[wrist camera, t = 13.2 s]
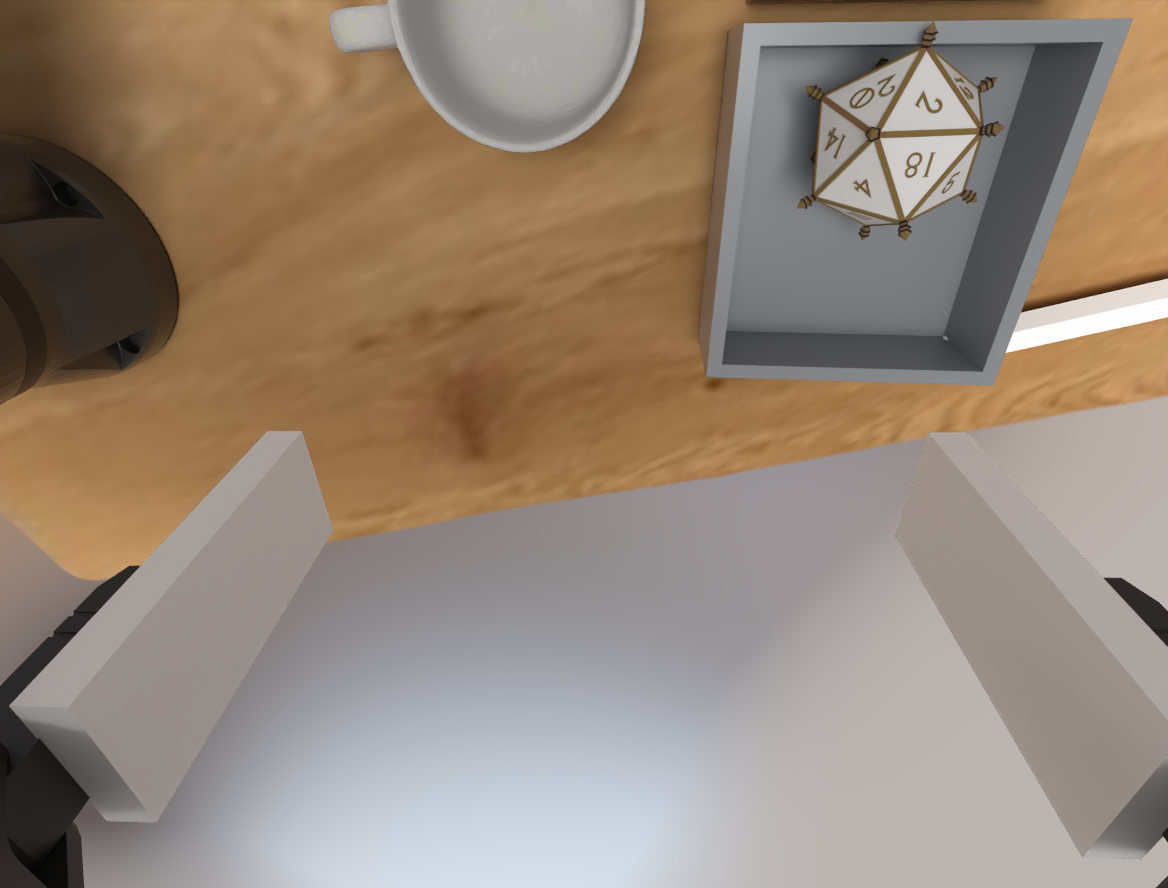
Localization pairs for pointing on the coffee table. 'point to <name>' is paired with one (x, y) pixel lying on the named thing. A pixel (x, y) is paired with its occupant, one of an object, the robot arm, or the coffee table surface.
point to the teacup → (506, 61)
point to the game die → (898, 139)
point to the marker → (1090, 315)
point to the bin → (883, 260)
